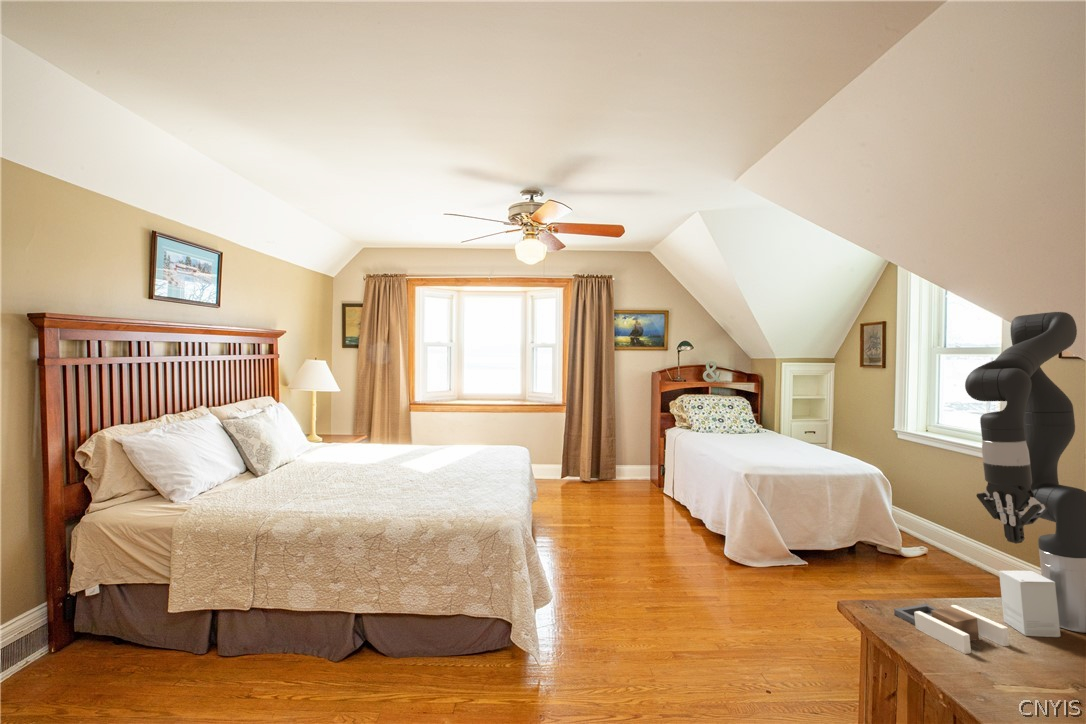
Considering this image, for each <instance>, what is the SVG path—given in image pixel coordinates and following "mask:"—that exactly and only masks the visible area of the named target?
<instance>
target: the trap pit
mask: <svg viewBox="0 0 1086 724" xmlns="http://www.w3.org/2000/svg"><path fill="white" fill-rule="evenodd" d="M937 609H938V608H936V607H934V606H932V605H930V604H928V603H923V604H921V603H920V604H917V605H916V604H915V605H910V606H905V607H897V608H893V613H894V616H896V617H898V618H899V619H902V620H904V621H905V622H908V623H909V624H912V625H913V626H915V615H914V612H916V611H921V612H923V613H925V614H927V615H929V616H931V617H932V612H931V610H937Z"/></svg>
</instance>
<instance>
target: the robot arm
mask: <svg viewBox="0 0 1086 724" xmlns="http://www.w3.org/2000/svg"><path fill="white" fill-rule="evenodd" d="M1077 334H1078V328H1077V324H1076V321H1075V319H1074V317H1073V316H1072V315H1071V314H1070V313H1069V312H1065V311H1049V312H1040V313H1039V312H1038V313H1032V314H1024V315H1017V316H1015V317H1014V318H1013V319H1012V320H1011V323H1010V340H1011V346H1010V347H1008V348H1006V349H1005V350H1004V351H1002V352H1001V353H1000V354H999V355H998V356H997V357H996V358H995V359H994V360H991V361H989V362H986V363H984V364H982V365H981V366H978V367H976V368H974V369H973V370H971V372H970V373H969V374H968V375H967V377H966V379H965V382H964V383H965V384H964V388H965V391H966V393H967V395H968V396H969V397H971V398H972V399H974V400H975V401H979V402H1006V405H1005V407H1004V408H1003V409H1002V410H998V411H991V412H986V413H983V414H982V415H981V416H980V418H979V419H980V420H979V423H980V428H981V429H980V432H981V440H982V441H981V454H982V464H983V471H984V480H985V481H986V482H987V485H986V486H985V488H986V489H985V490H984V491H982V492H980V493H978V492H977V493H976V498H977V499H978V500H979V502H980V503H981V504H982V505H983V507H984V508H985V509H986V511H987V512H988V514H990V516H991V517H992V518H993V519H994V520H998V521H1000V522H1001V524H1003V532H1004V537H1005V539H1007V542H1009V543H1012V544H1022V543H1023V542H1024V541H1025V530H1024V526H1028V525H1033V524H1034V523H1036V521H1037V520H1038V519H1043V520H1046V521H1049V522H1053V523H1055V532H1054V533H1049V534H1041V535H1040V536H1039V537H1038V540H1037V542H1038V544H1037V545H1038V553H1039V562H1040V563H1039V565H1040V572H1041V573H1040V575H1041V576H1043V577H1045V578H1047V579H1050V580H1052V581H1054V582H1055V587H1056V597H1057V607H1058V616H1059V626H1060V628H1062V629H1065V630H1069V631H1072V632H1078V633H1085V634H1086V490H1084V489H1082V488H1077V487H1074V486H1068V485H1063V484H1059V478H1058V476H1059V475H1058V465H1059V461H1060V457H1062V454H1063V452H1065V450H1066V448H1067V447H1068V446H1069V444H1070V442H1071V441H1072V440H1073V437H1074V435H1075V433H1076V422H1075V411H1074V405H1073V403H1072V401H1071V400H1070V397H1068V396H1067V395H1066V394H1065V392H1064V391H1063V390H1062V389H1061V388H1060V387H1059V386H1058V385H1057V384H1056V383H1054V382H1053V381H1052V380H1051V378H1050V377H1048V375H1047V374H1046V373H1045V372H1044V371H1043V368H1042V367H1041V366H1042V365H1043V364H1044V363H1046V362H1047V361H1049V360H1051V359H1052V358H1054V357H1055V356H1056V357H1057V355H1059V354H1060V353H1063V352H1064V351H1066V350H1067V349H1069V348H1070V347H1071V346H1072V345H1073V344H1074V343H1075V342H1076V338H1077Z"/></svg>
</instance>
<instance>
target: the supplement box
mask: <svg viewBox="0 0 1086 724" xmlns="http://www.w3.org/2000/svg"><path fill="white" fill-rule="evenodd" d="M998 573H999V583H1000V584H999V585H1000V594H1001V603H1002V604H1001V605H1002V616H1003V622H1004V623H1005V624H1007V625H1008V626H1010V627H1012V628H1013V629H1015V630H1016V631H1018V632H1019V633H1020V634H1022V635H1023V636H1024V637H1025V636H1026V637H1041V638H1042V637H1046V638H1050V637H1051V638H1060V637H1061V629H1060V628H1061V627H1060V626H1059V616H1058V607H1057V597H1056V587H1055V582H1054V581H1052V580H1050V579H1047V578H1045V577H1043V576H1041V574H1040V573H1038V572H1035V571H1033V570H998Z"/></svg>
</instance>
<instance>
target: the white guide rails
mask: <svg viewBox="0 0 1086 724" xmlns="http://www.w3.org/2000/svg"><path fill="white" fill-rule="evenodd" d="M949 607H953V608H955V609H958V610H960V611H962V612H964V613H967V614H969V615H971V616H974V617H976V618H977V623H978V634H979V637H983V638H985V639H987V640H989V641H991V642H993V643H995V644H997V645H1000V646H1002V647H1009V646H1010V639H1009V637H1010V636H1009V627H1007V626H1005V625H1004V624H1001V623H998V622H997V621H993V620H991V619H989V618H987V617H984V616H982V615H981V614H978V613H975V612H974V611H973V612H972V611H970V610H968V609H966V608H964V607H961V606H960V605H956V604H952V605H949ZM914 615H915V625H914V626H915V629H916V630H917V631H920V632H922V633H924V634H926V635H927V636H929V637H930V638H933V639H935V640H937V641H939V642H941V643H943V644H944V645H947V646H949V647H950V648H952V649H955V650H957V651H958V652H960V653H962V654H964V655H967V654H971V653H972V649H971V641H970V636H969V634H967V633H965V632H963V631H961V630H959V629H957V628H954V627H952V626H950V625H948V624H946V623H944V622H942V621H940V620H938V619H936V618H933V617H931V616H929V615H927V614H925V613H923V612H921V611H916V612H914Z"/></svg>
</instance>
